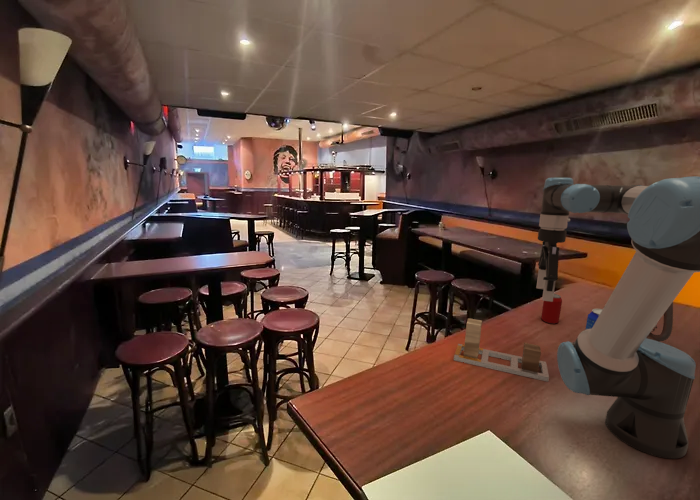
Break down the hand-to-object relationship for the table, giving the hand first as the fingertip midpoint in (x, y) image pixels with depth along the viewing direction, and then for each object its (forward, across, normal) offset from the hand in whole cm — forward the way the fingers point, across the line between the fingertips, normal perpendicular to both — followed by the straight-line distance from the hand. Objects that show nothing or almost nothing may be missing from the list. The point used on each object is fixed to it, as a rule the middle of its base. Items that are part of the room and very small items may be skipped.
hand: (543, 294), depth 110 cm
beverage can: (+24, +43, -11) cm, 50 cm away
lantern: (+24, +33, -39) cm, 57 cm away
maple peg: (+24, -4, +20) cm, 32 cm away
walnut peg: (+24, -5, +2) cm, 25 cm away
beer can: (+24, +16, -21) cm, 36 cm away
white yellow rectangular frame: (+24, -4, +11) cm, 27 cm away
